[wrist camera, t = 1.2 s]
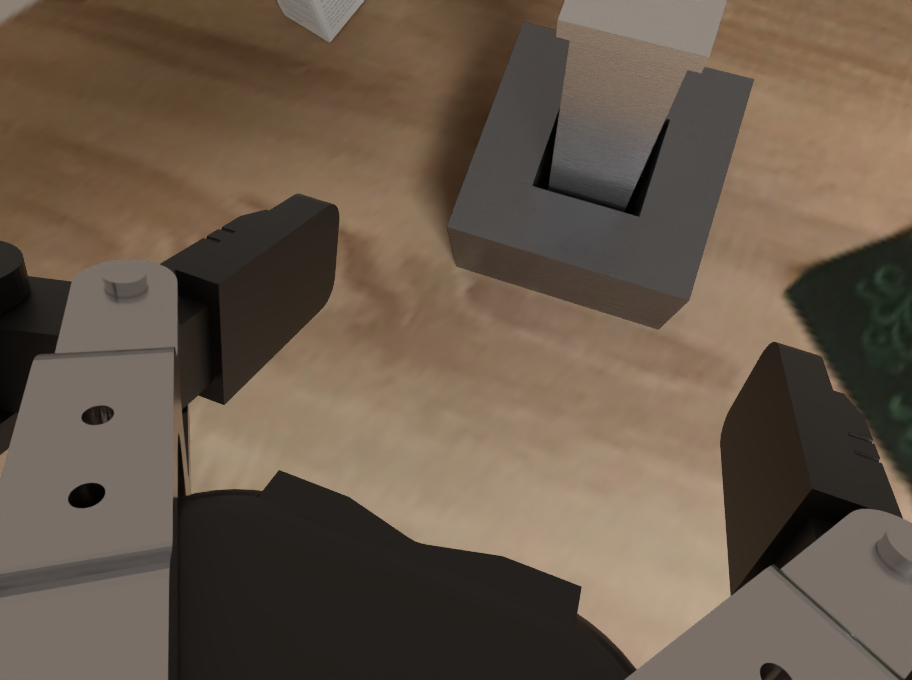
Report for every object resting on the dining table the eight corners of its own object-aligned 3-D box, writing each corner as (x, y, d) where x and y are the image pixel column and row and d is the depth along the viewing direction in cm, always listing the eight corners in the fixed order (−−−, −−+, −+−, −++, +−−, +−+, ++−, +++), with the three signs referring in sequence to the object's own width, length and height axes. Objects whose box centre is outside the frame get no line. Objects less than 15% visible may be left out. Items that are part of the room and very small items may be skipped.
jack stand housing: (456, 266, 36) (445, 223, 30) (520, 90, 39) (523, 15, 32) (658, 329, 35) (692, 297, 28) (714, 141, 37) (758, 73, 30)
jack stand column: (534, 226, 36) (557, 19, 20) (559, 154, 37) (602, -103, 21) (615, 250, 36) (709, 56, 19) (638, 176, 36) (748, -71, 20)
